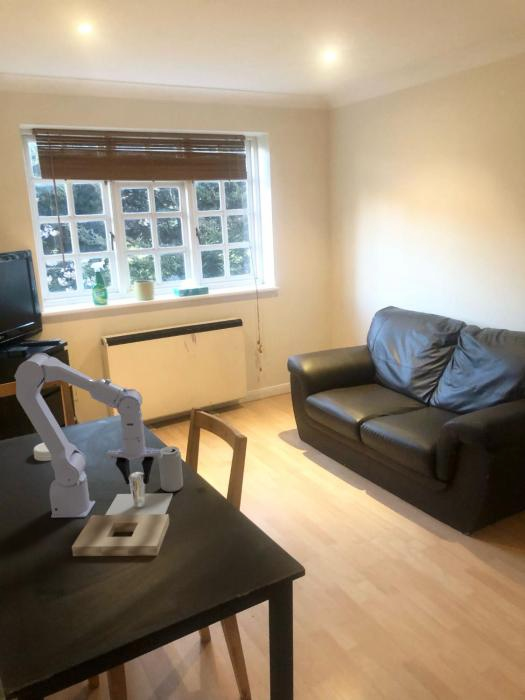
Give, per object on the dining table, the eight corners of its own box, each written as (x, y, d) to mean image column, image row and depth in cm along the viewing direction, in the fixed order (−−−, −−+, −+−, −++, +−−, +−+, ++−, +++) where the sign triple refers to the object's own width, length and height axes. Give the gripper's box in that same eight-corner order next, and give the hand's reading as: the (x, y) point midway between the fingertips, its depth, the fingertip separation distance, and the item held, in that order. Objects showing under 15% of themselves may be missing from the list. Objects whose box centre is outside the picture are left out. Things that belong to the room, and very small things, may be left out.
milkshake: (135, 511, 145) (132, 475, 144) (128, 504, 150) (125, 469, 148) (151, 506, 148) (148, 471, 146) (144, 500, 152) (141, 465, 151)
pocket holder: (73, 556, 128) (71, 546, 128) (93, 523, 142) (92, 515, 141) (157, 555, 128) (156, 545, 127) (169, 522, 141) (168, 514, 141)
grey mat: (104, 517, 145) (104, 516, 145) (117, 495, 157) (117, 494, 156) (164, 516, 144) (164, 515, 144) (173, 494, 156) (172, 493, 156)
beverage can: (178, 494, 156) (175, 455, 153) (157, 492, 157) (154, 453, 155) (186, 483, 162) (183, 445, 159) (165, 482, 163) (162, 444, 161)
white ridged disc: (33, 453, 189) (32, 443, 188) (63, 447, 193) (62, 438, 192) (35, 464, 180) (33, 454, 179) (67, 457, 184) (65, 448, 183)
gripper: (101, 442, 142) (106, 489, 145) (156, 441, 141) (160, 489, 145) (109, 431, 149) (114, 477, 152) (162, 430, 148) (166, 476, 151)
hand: (137, 482), depth 149 cm, fingers closed on milkshake, 4 cm apart
